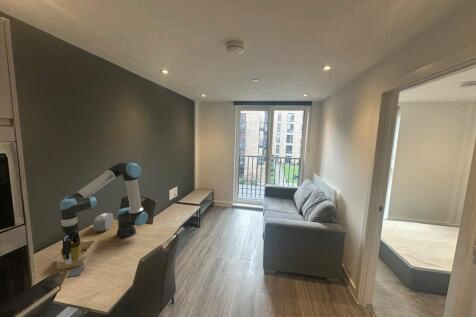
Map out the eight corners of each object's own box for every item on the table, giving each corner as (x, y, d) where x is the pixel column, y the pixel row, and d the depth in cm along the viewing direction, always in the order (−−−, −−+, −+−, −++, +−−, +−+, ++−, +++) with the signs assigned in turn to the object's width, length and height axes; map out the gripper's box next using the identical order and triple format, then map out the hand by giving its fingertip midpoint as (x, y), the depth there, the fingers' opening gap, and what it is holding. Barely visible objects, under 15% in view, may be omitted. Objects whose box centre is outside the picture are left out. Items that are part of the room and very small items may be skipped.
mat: (85, 267, 132) (85, 266, 132) (79, 275, 124) (79, 274, 124) (69, 270, 129) (68, 269, 129) (62, 278, 122) (62, 277, 122)
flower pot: (61, 265, 120) (60, 250, 119) (65, 257, 127) (64, 244, 127) (80, 261, 124) (78, 247, 123) (83, 254, 132) (81, 240, 131)
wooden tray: (101, 245, 159) (100, 238, 159) (85, 266, 133) (85, 257, 132) (73, 249, 154) (72, 241, 153) (51, 271, 128) (50, 263, 127)
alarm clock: (102, 224, 198) (102, 211, 197) (113, 223, 201) (112, 210, 199) (93, 234, 178) (92, 219, 177) (105, 232, 181) (104, 218, 179)
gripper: (71, 218, 133) (74, 250, 135) (51, 232, 112) (55, 271, 114) (84, 217, 135) (87, 249, 137) (67, 231, 114) (71, 268, 116)
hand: (72, 259), depth 126 cm, fingers closed on flower pot, 9 cm apart
